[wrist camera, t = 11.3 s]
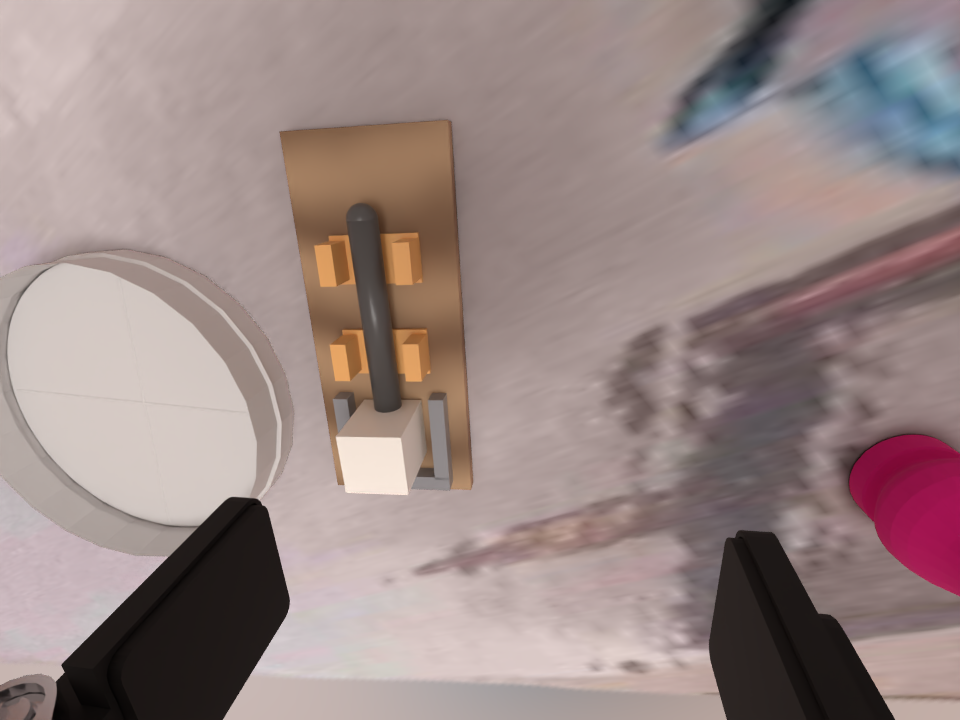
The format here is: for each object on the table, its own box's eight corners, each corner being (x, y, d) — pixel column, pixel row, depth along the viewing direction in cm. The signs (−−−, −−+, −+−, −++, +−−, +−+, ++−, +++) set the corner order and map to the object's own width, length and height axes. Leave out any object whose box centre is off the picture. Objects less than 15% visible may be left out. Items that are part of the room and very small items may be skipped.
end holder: (339, 392, 35) (332, 399, 34) (446, 393, 34) (442, 400, 33) (352, 477, 37) (346, 486, 36) (453, 480, 36) (450, 490, 35)
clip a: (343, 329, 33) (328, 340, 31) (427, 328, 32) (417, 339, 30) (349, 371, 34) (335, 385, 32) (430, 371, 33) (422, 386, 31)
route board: (287, 133, 30) (279, 131, 30) (451, 121, 29) (447, 119, 28) (343, 477, 39) (338, 484, 38) (473, 481, 37) (471, 489, 36)
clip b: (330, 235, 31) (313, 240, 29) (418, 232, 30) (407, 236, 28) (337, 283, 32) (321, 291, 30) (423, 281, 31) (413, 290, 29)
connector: (333, 203, 30) (293, 211, 25) (398, 199, 29) (370, 207, 25) (372, 449, 36) (346, 492, 32) (427, 451, 36) (408, 494, 31)
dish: (282, 258, 34) (239, 271, 29) (308, 532, 41) (276, 577, 37) (-13, 239, 36) (-97, 248, 31) (63, 500, 44) (4, 539, 39)
